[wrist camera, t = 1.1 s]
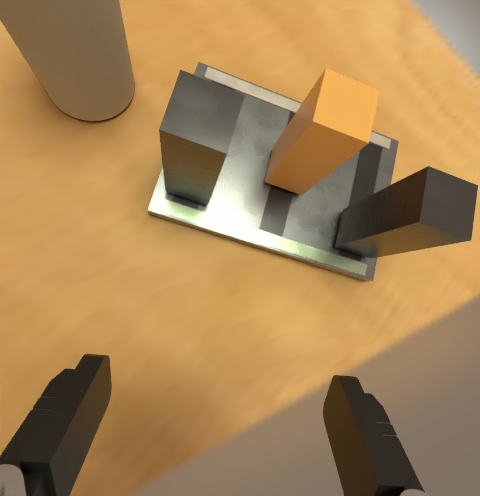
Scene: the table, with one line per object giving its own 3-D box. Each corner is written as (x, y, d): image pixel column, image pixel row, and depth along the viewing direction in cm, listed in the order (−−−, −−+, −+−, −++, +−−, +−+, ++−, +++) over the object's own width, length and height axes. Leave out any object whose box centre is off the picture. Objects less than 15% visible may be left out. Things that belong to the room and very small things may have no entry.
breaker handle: (264, 181, 30) (312, 121, 20) (274, 145, 31) (326, 67, 20) (302, 195, 31) (368, 143, 20) (310, 158, 32) (379, 90, 21)
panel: (148, 214, 30) (129, 155, 17) (197, 72, 33) (211, -67, 20) (364, 281, 33) (480, 273, 21) (389, 147, 36) (504, 69, 24)
